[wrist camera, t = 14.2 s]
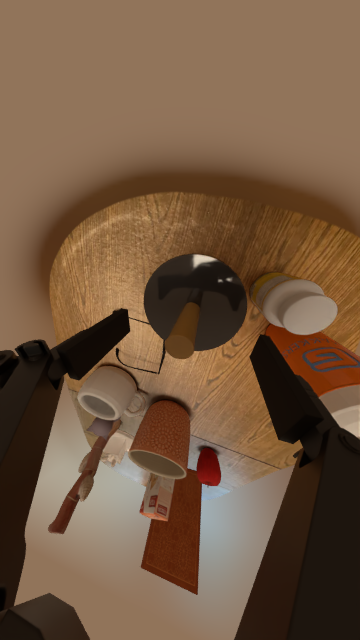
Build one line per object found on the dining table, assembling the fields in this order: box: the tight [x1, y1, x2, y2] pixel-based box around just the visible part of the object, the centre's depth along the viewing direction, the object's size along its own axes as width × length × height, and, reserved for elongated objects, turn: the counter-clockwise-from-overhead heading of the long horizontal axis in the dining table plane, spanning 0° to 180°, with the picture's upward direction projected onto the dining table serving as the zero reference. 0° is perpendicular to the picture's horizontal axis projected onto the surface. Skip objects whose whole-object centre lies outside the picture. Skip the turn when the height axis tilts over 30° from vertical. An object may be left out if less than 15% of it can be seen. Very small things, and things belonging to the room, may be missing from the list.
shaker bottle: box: [266, 323, 360, 439], centre depth 18 cm, size 9×9×20 cm
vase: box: [48, 419, 121, 534], centre depth 51 cm, size 11×7×30 cm
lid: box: [144, 254, 247, 359], centre depth 15 cm, size 14×14×9 cm
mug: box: [77, 366, 145, 420], centre depth 43 cm, size 21×17×10 cm
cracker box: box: [140, 473, 175, 521], centre depth 53 cm, size 14×6×21 cm, turn 150°
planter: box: [128, 400, 190, 479], centre depth 42 cm, size 17×17×15 cm
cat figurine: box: [86, 416, 121, 440], centre depth 50 cm, size 8×8×12 cm
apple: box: [197, 448, 221, 486], centre depth 54 cm, size 10×10×11 cm
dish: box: [101, 429, 134, 467], centre depth 70 cm, size 25×25×11 cm
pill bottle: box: [250, 272, 337, 335], centre depth 19 cm, size 6×6×12 cm
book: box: [141, 468, 202, 595], centre depth 64 cm, size 23×8×30 cm, turn 91°
